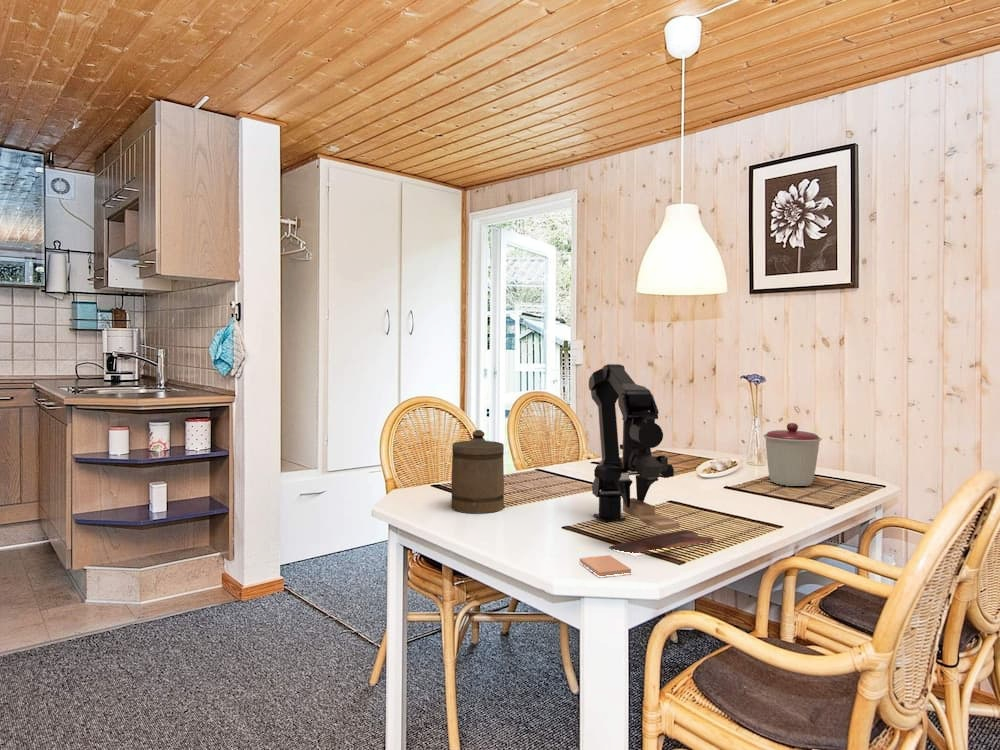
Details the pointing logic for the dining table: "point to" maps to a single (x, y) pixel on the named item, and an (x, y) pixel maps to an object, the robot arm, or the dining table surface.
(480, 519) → the dining table surface
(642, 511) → the tan paddle
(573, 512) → the dining table surface
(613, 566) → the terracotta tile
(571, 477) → the dining table surface
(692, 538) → the wooden tablet
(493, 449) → the wooden container
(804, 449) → the canister
